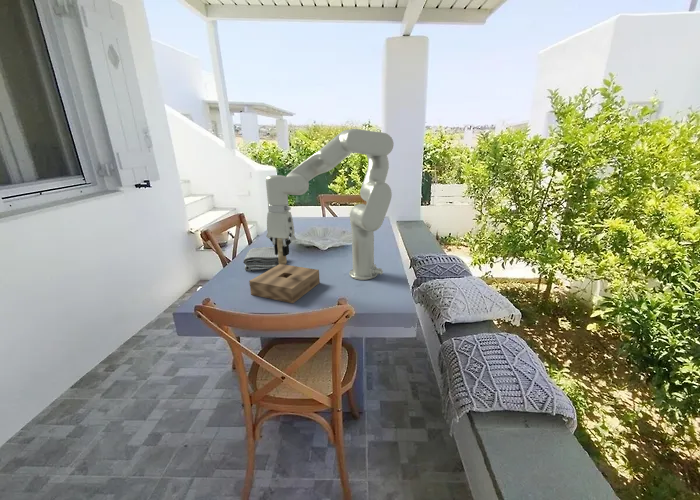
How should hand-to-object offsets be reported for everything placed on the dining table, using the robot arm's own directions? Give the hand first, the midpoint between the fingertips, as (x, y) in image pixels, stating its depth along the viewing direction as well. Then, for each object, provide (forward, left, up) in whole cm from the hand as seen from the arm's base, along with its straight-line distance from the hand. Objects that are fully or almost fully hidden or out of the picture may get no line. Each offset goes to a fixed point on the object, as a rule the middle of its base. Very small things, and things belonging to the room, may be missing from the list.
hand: (282, 254), depth 128 cm
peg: (0, 0, -4) cm, 4 cm away
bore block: (0, 0, -15) cm, 15 cm away
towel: (+26, -20, -16) cm, 36 cm away
